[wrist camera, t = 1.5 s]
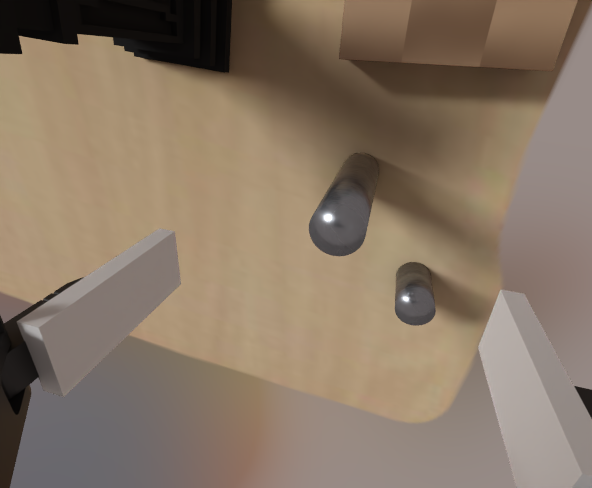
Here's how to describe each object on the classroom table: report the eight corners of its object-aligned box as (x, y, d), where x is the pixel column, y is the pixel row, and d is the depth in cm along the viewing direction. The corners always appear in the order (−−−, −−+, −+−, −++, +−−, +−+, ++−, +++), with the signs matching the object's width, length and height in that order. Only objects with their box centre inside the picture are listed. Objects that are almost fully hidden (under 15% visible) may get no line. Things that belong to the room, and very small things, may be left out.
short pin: (399, 259, 31) (398, 290, 27) (434, 265, 31) (439, 298, 26) (393, 287, 33) (391, 321, 28) (426, 293, 32) (430, 328, 28)
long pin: (344, 150, 28) (310, 200, 18) (381, 154, 28) (369, 208, 17) (340, 186, 30) (307, 251, 19) (375, 191, 29) (361, 260, 19)
